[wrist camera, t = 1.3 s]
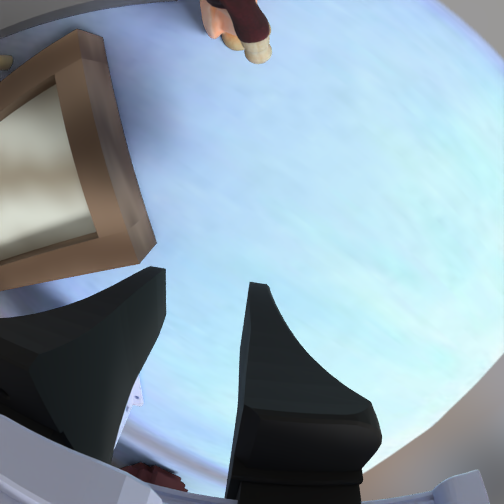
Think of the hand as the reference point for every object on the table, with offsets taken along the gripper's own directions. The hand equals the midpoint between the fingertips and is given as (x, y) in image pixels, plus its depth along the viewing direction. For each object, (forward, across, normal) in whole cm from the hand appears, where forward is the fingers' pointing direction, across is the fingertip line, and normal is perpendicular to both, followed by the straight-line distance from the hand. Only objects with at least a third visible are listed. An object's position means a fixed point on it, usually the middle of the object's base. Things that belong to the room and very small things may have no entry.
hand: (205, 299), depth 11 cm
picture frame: (+8, +16, -2) cm, 18 cm away
